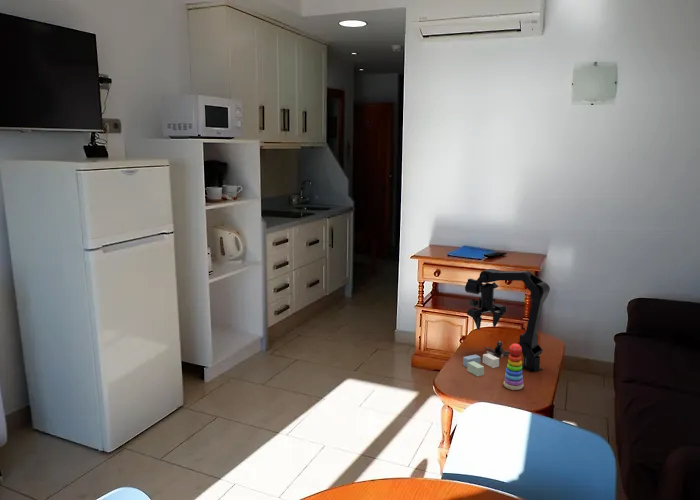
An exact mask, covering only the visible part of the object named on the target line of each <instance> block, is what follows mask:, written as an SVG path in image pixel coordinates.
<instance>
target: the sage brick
mask: <svg viewBox="0 0 700 500" xmlns="http://www.w3.org/2000/svg"><path fill="white" fill-rule="evenodd" d="M466 368H467V369H466V371H467V372H469V373H470V374H472V375H474V376H476V377H478V378H479V377H481V376H484V375H485V366H484V365H482V364H481V363H480V364H478V363H476V362H475V361H472V362H467V367H466Z"/></svg>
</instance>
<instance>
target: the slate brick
mask: <svg viewBox="0 0 700 500" xmlns="http://www.w3.org/2000/svg"><path fill="white" fill-rule="evenodd" d="M481 359H482V358H481V356H480V355H478V354H472V355H467V356H463V357H462V365H463V366H464V367H465V368H467V362H472V361H475V362H476V363H478V364H480V365H481V361H482V360H481Z"/></svg>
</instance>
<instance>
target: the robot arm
mask: <svg viewBox="0 0 700 500" xmlns="http://www.w3.org/2000/svg"><path fill="white" fill-rule="evenodd" d="M497 281H515V282H517V281H518V282H519V281H521V282H522V283H523V285H525V288H526V289H527V290H528V291H529V292H530V300H531V305H530V309H529V315H528V321H527V325H526V329H525V332H523V333H521V334H520V335H519V341H518V343H517V344H519V345H520V346H521V348H522V353H521V354H522V356H523V363H522V369H524V370H526V371H528V372H530V373H535V372H538V371H542V370H543V368H542V367H540V363H541V356H540V355H542V353H543V351H544V349H543V348H542V347H541V346H540V344H539V336H538V328H539V325H540V319H541V316H542V315H541V314H542V310H543V306H544V303H545V301H546V299H547V297H548V296H549V293H550V292H551V291H550V290H551V288H550V285H549V284H548V283H547V282H545V281H544V280H542V279H541V278H540V277H538V276H536V275H534V274H533V273H532V272H531V271H529V270H524V271H523V270H522V271H521V270H520V271H517V270H514V271H511V270H509V271H505V270H504V271H502V270H498V269H495V268H488V269H485V270H481V271H480V273H479V276H478V278H477V279H474V278H467V282H466V283H465V285H464V286H465V287H464V290H465V293H468V294H473V295H480V296H479V297H478V300H477V299H475V298H472V299H469V305H470V307H472V308H468V309H467V310H466V315H467V316H469V317H471V318H472V319H473V321H474V323H475V327H476V329H477V331H480V328H481V325H482V324H481V323H482V317H481V316H482V314H487V313H492V327H493V328H495V327H496V326H497V324H498V323H499V321H500V319H501V318H502V316H503V315H505V313H507V307H506V306H505V305H502V304H500V303H496V304H494V302H496V298H494V293H495V291H494V290H495V289H498V288H499V285H498V283H496V282H497Z"/></svg>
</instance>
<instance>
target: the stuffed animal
mask: <svg viewBox="0 0 700 500" xmlns="http://www.w3.org/2000/svg"><path fill="white" fill-rule="evenodd" d="M484 349H485V350H487V351H486V354H488V353H489V354H491V355H493V356H495V357H497V358H501V359H504V358H505V357H509V355H510V352H509V350H505V351H504V348H503V341H500V340H499V341H497V342H496V346H495V347H494V349H493V348H490V347H487V346H485V347H484Z"/></svg>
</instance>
